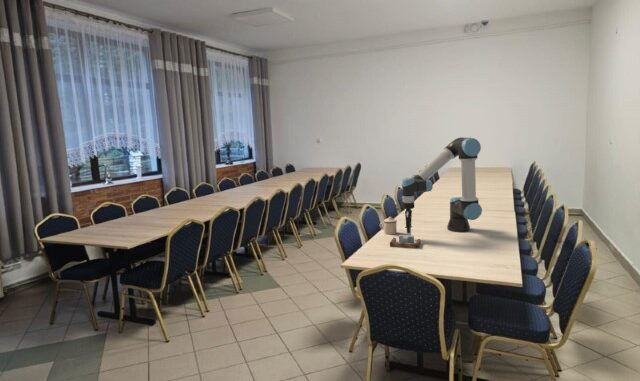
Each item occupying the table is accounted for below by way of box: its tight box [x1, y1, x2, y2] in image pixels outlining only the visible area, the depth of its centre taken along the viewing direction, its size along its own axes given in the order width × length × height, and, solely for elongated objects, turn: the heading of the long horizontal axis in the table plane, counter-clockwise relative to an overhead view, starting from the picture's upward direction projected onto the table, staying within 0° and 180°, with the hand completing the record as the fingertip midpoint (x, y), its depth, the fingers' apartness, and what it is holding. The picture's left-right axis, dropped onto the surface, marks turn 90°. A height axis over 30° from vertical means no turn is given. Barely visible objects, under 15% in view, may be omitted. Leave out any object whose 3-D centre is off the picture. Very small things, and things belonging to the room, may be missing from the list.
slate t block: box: [398, 234, 415, 243], centre depth 254 cm, size 9×8×4 cm
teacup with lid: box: [379, 216, 398, 235], centre depth 281 cm, size 12×9×12 cm
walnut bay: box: [389, 237, 421, 249], centre depth 252 cm, size 17×12×2 cm
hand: (408, 237), depth 263 cm, fingers closed
